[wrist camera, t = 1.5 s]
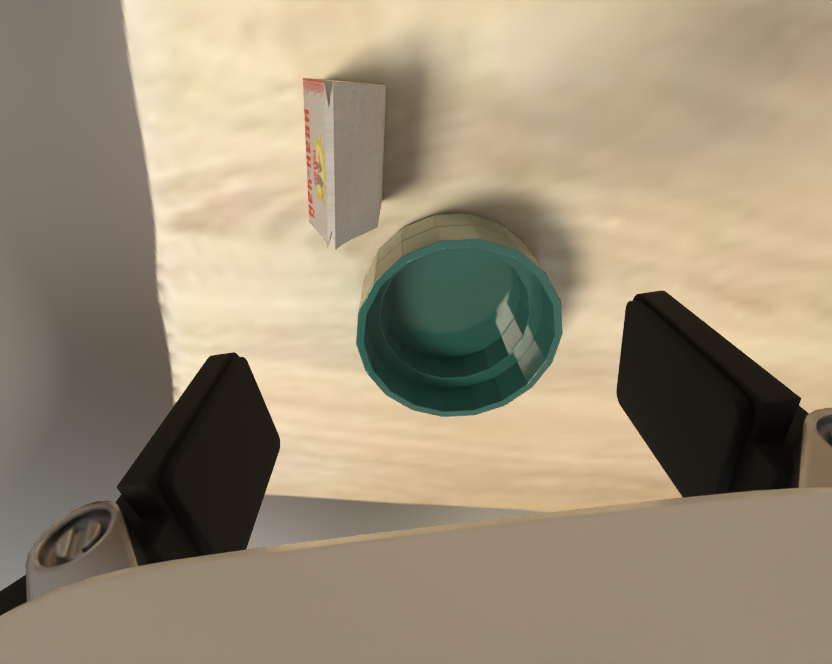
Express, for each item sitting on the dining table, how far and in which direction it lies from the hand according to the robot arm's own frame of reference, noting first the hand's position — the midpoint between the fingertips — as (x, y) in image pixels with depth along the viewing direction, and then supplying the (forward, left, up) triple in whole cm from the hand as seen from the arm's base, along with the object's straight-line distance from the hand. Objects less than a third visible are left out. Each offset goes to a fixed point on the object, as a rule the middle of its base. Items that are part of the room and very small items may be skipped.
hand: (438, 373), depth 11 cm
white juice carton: (-3, -3, -21) cm, 21 cm away
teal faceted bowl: (+8, +2, -20) cm, 22 cm away
